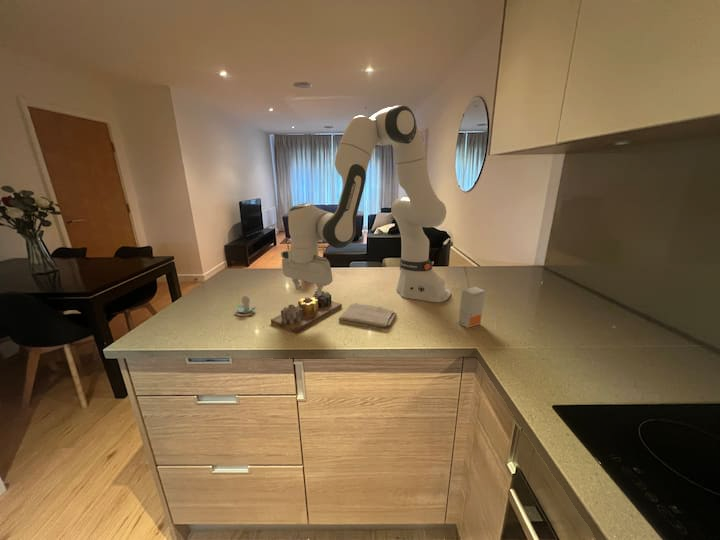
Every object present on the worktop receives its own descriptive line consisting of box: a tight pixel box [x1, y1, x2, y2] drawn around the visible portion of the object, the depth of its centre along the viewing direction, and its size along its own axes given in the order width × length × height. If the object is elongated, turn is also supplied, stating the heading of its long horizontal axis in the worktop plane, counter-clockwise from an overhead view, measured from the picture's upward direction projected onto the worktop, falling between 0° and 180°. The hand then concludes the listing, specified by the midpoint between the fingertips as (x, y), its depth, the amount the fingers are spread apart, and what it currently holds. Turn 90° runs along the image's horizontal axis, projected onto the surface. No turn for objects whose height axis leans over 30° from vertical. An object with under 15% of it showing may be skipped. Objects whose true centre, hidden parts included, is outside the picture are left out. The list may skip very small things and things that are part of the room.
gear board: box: [270, 290, 343, 335], centre depth 102 cm, size 12×23×6 cm, turn 146°
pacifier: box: [234, 295, 257, 317], centre depth 104 cm, size 7×6×6 cm
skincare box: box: [457, 286, 486, 329], centre depth 94 cm, size 6×4×12 cm
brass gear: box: [297, 296, 318, 316], centre depth 102 cm, size 7×7×4 cm
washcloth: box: [338, 303, 397, 331], centre depth 99 cm, size 12×18×3 cm, turn 70°
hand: (308, 292), depth 100 cm, fingers open, 8 cm apart
